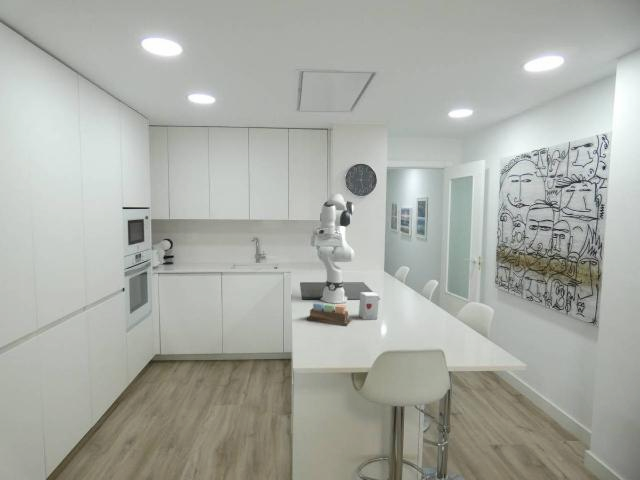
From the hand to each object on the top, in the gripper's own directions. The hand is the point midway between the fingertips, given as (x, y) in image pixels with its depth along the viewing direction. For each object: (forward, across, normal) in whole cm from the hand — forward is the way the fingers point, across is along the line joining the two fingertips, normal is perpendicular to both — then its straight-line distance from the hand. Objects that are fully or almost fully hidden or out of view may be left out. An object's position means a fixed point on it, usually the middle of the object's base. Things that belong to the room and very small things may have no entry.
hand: (326, 254), depth 237 cm
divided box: (+38, +1, +9) cm, 39 cm away
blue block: (+34, +6, +5) cm, 34 cm away
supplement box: (+38, -25, +11) cm, 47 cm away
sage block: (+34, +1, +9) cm, 35 cm away
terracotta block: (+34, -3, +14) cm, 36 cm away
